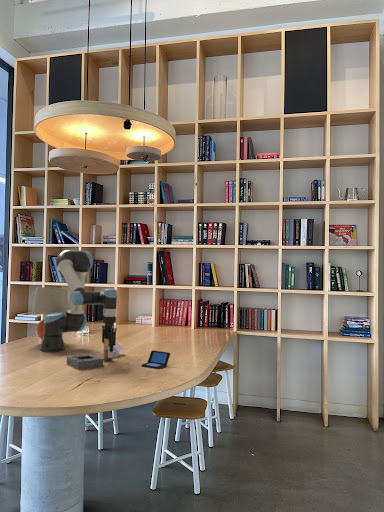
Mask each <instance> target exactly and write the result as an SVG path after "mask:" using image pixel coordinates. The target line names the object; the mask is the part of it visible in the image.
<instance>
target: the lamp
mask: <svg viewBox="0 0 384 512" xmlns="http://www.w3.org/2000/svg"><path fill="white" fill-rule="evenodd" d="M68 292H69V291H68V287H55V286H54V287H53V286H52V287H50V286H49V287H48V286H46V287H45V286H44V287H35V294H34V299H33V305H32V310H31V314H34V315H35V314H36V315H47V314H50V313H57V312H62V313H63V314H66V310H67V309H69V293H68ZM35 333H36V335H37V337H38V338H39V340H40V344H41V343H42V340H43V336H44V319H42V320H40V321H39V322H38V323H37V325H36V328H35ZM64 333H65V332H63V334H62V336H63V335H64Z"/></svg>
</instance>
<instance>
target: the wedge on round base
mask: <svg viewBox="0 0 384 512" xmlns="http://www.w3.org/2000/svg"><path fill="white" fill-rule="evenodd" d="M124 349H125V348H124V347H123V346H121V344H120V343H118V342H116V345H114V346H113V357H112V359H113V358H118V357H119V354H120V351H122V350H124Z"/></svg>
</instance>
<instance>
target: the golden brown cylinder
mask: <svg viewBox="0 0 384 512" xmlns="http://www.w3.org/2000/svg"><path fill="white" fill-rule="evenodd" d="M108 345H109V338H104V344H103V354H104V356H103V361H106V362H107V361H113V358H108Z"/></svg>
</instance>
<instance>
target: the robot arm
mask: <svg viewBox="0 0 384 512" xmlns="http://www.w3.org/2000/svg"><path fill="white" fill-rule="evenodd" d="M93 258H94V257H93V255H92V254H91V252H90V251H87V250H78V249H77V250H75V249H74V250H73V249H66V250H63V251H61V252H60V253H59V254H58V255H57V257H56V258H55V265H56V268H57V270H58V272H60V273H61V274H62V276H63V278H64V280H65V282H66V284H67V286H68V288H69V291H70V293H69V299H68V301H69V309H67V310H66V314H63V313H62V312H57V313H50V314H44V336H43V340H42V343H41V342H40V346H39V351H41V350H42V351H41V352H47V351H54V352H61V351H60V350H62V351H65V350H64V349H66V345H65V342H64V338H63V335H64V333H72V332H74V333H77V332H82V331H83V330H84V329H85V327H86V325H87V315H86V314H85V312H84V310H83V306H85V305H88V306H89V305H102V306H103V310H102V315H103V316H102V323H103V324H104V325H101V330H102V332H101V333H102V334H101V335H102V336H101V343H102V344H103V345H104V338H109V345H108V358H112V357H113V346H114V345H116V343H117V342H116V341H117V340H116V338H117V329H118V328H116V327H115V324H116V322H117V309H118V307H117V304H118V290H117V289H115V288H104V290H103V291H102V290H97V291H87V290H86V289H85V285H86V278H87V277H86V276H87V274H88V273H89V270H90V269H92V268H93V265H94V259H93ZM63 332H64V333H63ZM62 334H63V335H62ZM102 354H103V355H102V356H103V357H104V353H102ZM112 359H113V358H112Z"/></svg>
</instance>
